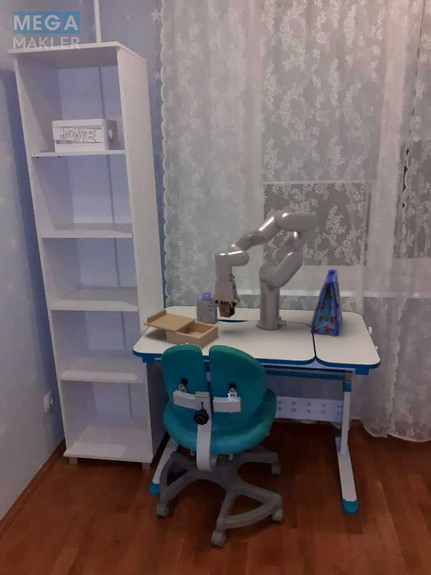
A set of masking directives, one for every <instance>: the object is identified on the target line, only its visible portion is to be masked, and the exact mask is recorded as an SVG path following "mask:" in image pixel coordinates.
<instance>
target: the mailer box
mask: <svg viewBox="0 0 431 575" xmlns="http://www.w3.org/2000/svg"><path fill="white" fill-rule="evenodd" d="M165 331H166V333H165V334H166V342H168V343H172V344H175V345H179V344H186V343H188V344H195V345H198V346H199V347H201V349H202V348H205V345H206V346H208V345H209V344H210V343H212V342H213V341H215V339H218V338H219V326H218V325H215V324H212V323H202V322H197V320H195V321H194V322H192V323H190V324H189V325H187V326H185V327H184V328H182V329H180V330H178V331H177V332H172V331H167V330H165Z"/></svg>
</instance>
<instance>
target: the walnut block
mask: <svg viewBox="0 0 431 575" xmlns="http://www.w3.org/2000/svg"><path fill="white" fill-rule="evenodd" d="M230 308H231V307H230V304H229V302H225V301H223V302H222V303H221V304H219V306H218V310H219V309H220V312H219V317H221V318H228V319H230V318H231V317H233V316H234V315H232V316H230Z"/></svg>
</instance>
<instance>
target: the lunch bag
mask: <svg viewBox="0 0 431 575" xmlns="http://www.w3.org/2000/svg"><path fill="white" fill-rule="evenodd" d="M327 271H328V272H327V274H326V276H325V279H324V282H323V284H322V286H321V289H320V292H319V294H318V298H317V301H316V304H315V309H314V311H313V316H312V320H311V326H310V333H311V334H327V335H331V336H334V337H338V336H339V335H340V333H341V332H340V330H341V327H342V322H343V314H342V308H341V303H340V302H341V293H340V287H339V286H340V284H339V277H338V270H336V269H328V270H327Z"/></svg>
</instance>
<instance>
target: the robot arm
mask: <svg viewBox="0 0 431 575" xmlns="http://www.w3.org/2000/svg"><path fill="white" fill-rule="evenodd" d="M319 225H320V218H319V216H318V215H317V214H315V213H313V212H309V211H307V210H301V209H300V210H296V211H294V212H289V211H287V210H282V209H278V210H275V211H273V212H272V213H271V214H270V215H269V216H268V217H267V218H266V219H265V220H264V221H262V223H260V224H259V225H258V226H257V227H256V228H254V229H253V230H251V231H249V232H247V233H246V234H244V235H241V236H240V237H239V238H237V240H236V241H234V242H233V243H232V244H231V245H230V246H229V247H228V248H227V250H218V251H216V252H215V254H214V262H215V264H214V265H215V276H216V279H215V282H214V295H212V299H213V300H214V301H215V302H216V303H217V307H219V304H221V303H222V302H224V301H225V302H229V304H230V307H231V308H230V316H231V317H233V316H234V315H235V313H236V308H235V307H236V306H237V305H238V304H239V303H241V299H240V297H238V289H237V284H236V281H235V278H236V277H235V276H234V274H233V267H244V266H246V265H247V264H248V263H249V262H250V255H249V253H248V252H247V251H249V249H251V248H253V247H255V246H261V245H264V244H267V243H269V242H270V241H272V239H273V238H275V237H276V236H277V235H278V234H279V233H280V232H281V231H285V232H290V234H289V236H288V237H287V238H286V239H285V241H283V243H282V244H281V246H280V247H279V248H278V249H277V250H276V252H275V254H274V259H275V261H276V262H277V263H278V265H277V264H276V263H274V262H269V261H268V262H264V263H263V264H261V266H260V267H259V270H258V279H259V280H258V281H259V289H260V290H259V320H258V321H256V327H257V328H259V329H262V330H267V331H268V330H269V331H273V330H274V331H275V330H278V329H281V328H282V327H283V326H284V327H286V326H287V325H288V324H287V323H288V322H287V320H284V319H282V316H280V309H281V307H280V306H281V288H283V287H285V286H286V285H287V284H288V283H289V282H290V281H291V280H292V278H294V276H295V275H296V273H298V271H299V270H300V269H301V267H302V265H303V263H304V255H303V253H302V252H301V251H302V249H303V248H304V247H305V246H306V244H307V241H308V238H309V232H314V231H315V230H317V228H318V227H319ZM218 311H219V313H220V309H219V308H218ZM232 315H233V316H232Z"/></svg>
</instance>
